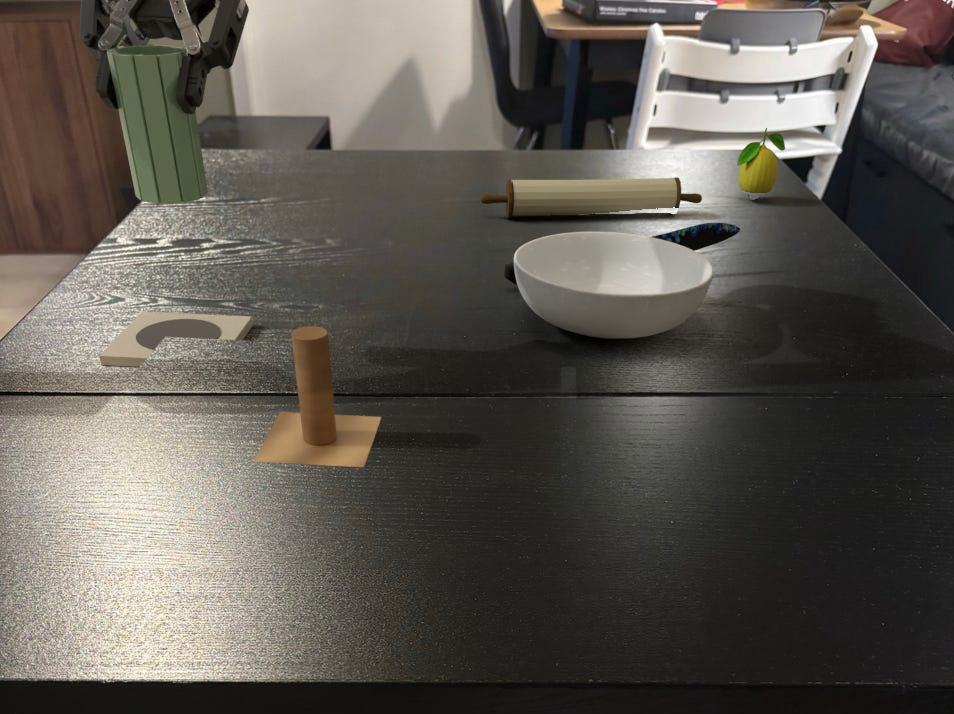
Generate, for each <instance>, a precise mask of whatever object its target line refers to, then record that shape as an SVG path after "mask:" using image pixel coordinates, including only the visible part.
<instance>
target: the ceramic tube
mask: <svg viewBox="0 0 954 714" xmlns="http://www.w3.org/2000/svg"><path fill="white" fill-rule="evenodd" d="M107 55H108V60H109V65H110V70H111V75H112V80H113V85H114V90H115V95H116V100H117V105H118V110H117V111H118V115H119V119H120V124H121V129H122V135H123V139H124V145H125V150H126V156H127V159H128V164H129V168H130V174H131V179H132V184H133V188H134V189H133V191H134V194H135V195H134V196H135V198H137V199H138V200H139V201H140V202H145V203H151V204H157V205H159V204H161V205H176V204H182V203H184V204H185V203H190V202H194V201H199V200H201V199H204V197H205V196H207V195H208V193H209V191H208V183H207V178H206V170H205V165H204V158H203V151H202V145H201V139H200V132H199V126H198V119H197V113H196V111H195V114H185V113H184V111H183V110H182V108H181V107H180V105H179V103H178V102H177V98H176V92H177V86H178V81H179V75H180V69H181V66H182V58H183V56H188V53H187V50H186V48H185V47H181V46H179V45H178V46H177V45H171V44H146V45H129V46H120V47H119V46H116V47H115V48H112V49H109V50H107Z"/></svg>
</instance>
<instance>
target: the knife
mask: <svg viewBox="0 0 954 714" xmlns="http://www.w3.org/2000/svg"><path fill="white" fill-rule="evenodd" d="M740 232H741V227H739V226H737V225H735V224H732V223H727V222H705V223H700V224H699V223H698V224H695V225H691V226H687V227H684V228H680V229H676V230H672V231H669V232H666V233H661V234H657V235H651V237H653V238H657V239H662V240H665V241H669V242H672V243H676V244H679V245H681V246H684V247H687V248H689V249H691V250H693V251H695V252H696V251H698V250H701V249H704V248H707V247H711V246H714V245H716V244H719V243H722V242H724V241H726V240H728V239H730V238H732V237H734V236H736V235H738V234H739V233H740ZM504 266H505V267H504V273H503V277H504V279H506V280H508V281H509V282H510V283H512V284H514V285H515V286H517V287H518V285H517V282H516V277H515V270H514V262H512V263H506V264H505V265H504Z"/></svg>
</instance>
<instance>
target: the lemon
mask: <svg viewBox="0 0 954 714" xmlns="http://www.w3.org/2000/svg"><path fill="white" fill-rule="evenodd" d="M767 131H768V127H765V129H764V134H763V139H761V140H760V141H753V142H749V143H747V144H746V146H745V147H744V148H743V149H742V150H741V152H740V154H739V156H738V159H737V164H736V166H740V167H739V171H738V186H739V188H740V191H742V190H743V191H745V192H750V193H767V192H769V193H770V192H771V191H772V190H773V187H774V186H775V183H776V181H777V176H778V161H777V157H776V155H775V153H774V152H773V151H772V150H771V149H770V148H768V147H767V146H766V140H767V139H766V138H768V139H769V140H770V142H771V143H772V144H773V146H774V147H776V148H777V149H779V151H782V152H783V151H786V145H785V140H784V137H783V135H782V134H781V133H778V132H774V133H771V134H769V135H768V134H767ZM767 194H768V193H767Z"/></svg>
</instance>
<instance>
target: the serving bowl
mask: <svg viewBox="0 0 954 714" xmlns="http://www.w3.org/2000/svg"><path fill="white" fill-rule="evenodd" d="M514 252H515V253H514V254H513V263H514V270H515V277H516V282H517V285H518V286H517V285H516V286H517V288H518V291H519V293H520V295H521V298H523V301H524V302H525V303H526V305H527V306H528V308H530V309H531V311H533V312H534V313H535V314H536V315H537V316H538V317H540V318H541V319H542V320H544V321H545V322H547V323H549V324H551V325H552V326H555V327H556V328H559V329H562V330H565V331H568V332H571V333H574V334H579V335H583V336H587V337H591V338H597V339H607V340H609V339H610V340H612V339H613V340H614V339H615V340H617V339H637V338H644V337H645V338H646V337H650V336H655V335H657V334H662V333H665V332H667V331H670V330H672V329H674V328H676V327H678V326H680V325H681V324H682V323H684V322H686V321H687V320H688V319H689V318H690V317H691V316H692V315H694V313H695V312H696V311H697V310H698V309H699V307H700V306H701V304H702V303H703V302H704V300H705V298H706V296H707V294H708V292H709V289H710V286H711V284H712V281H713V278H714V272H715V271H714V268H713V265H712V264H711V262H710V261H709V260H708V259H707V258H706V257H705V256H703V255H702V254H700V253H699V252H697V251H696V250H695V251H693V250H691V249H689V248H687V247H684V246H681V245H679V244H676V243H672V242H669V241H665V240H662V239H657V238H653V237H652V236H647V235H641V234H637V233H636V234H635V233H626V232H619V231H573V232H572V231H571V232H563V233H555V234H551V235H546V236H542V237H538V238H536V239H533V240H530V241H527V242H526V243H524V244H522V245H521V246H520V247H518V248H517V250H516V251H514Z"/></svg>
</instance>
